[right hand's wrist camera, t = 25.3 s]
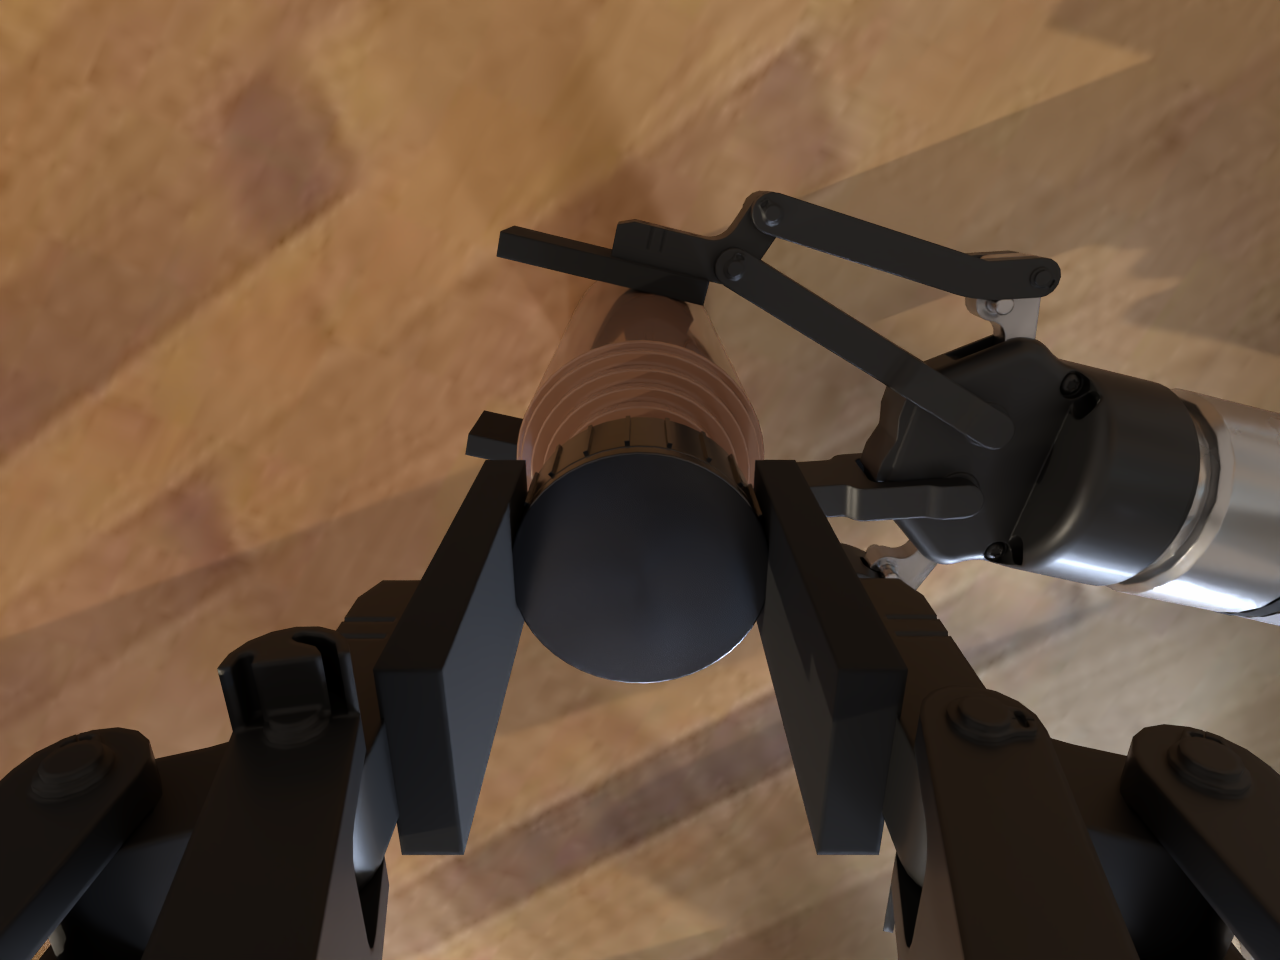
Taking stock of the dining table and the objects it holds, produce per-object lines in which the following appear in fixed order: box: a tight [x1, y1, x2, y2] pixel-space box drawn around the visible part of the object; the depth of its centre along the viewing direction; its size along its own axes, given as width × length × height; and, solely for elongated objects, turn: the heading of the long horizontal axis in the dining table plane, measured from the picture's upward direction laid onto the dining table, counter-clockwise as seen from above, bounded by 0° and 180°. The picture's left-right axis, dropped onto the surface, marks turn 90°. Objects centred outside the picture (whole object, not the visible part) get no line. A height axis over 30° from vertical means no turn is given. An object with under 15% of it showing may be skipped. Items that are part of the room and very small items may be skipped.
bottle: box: [517, 281, 764, 490], centre depth 23 cm, size 6×6×20 cm
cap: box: [512, 416, 769, 683], centre depth 14 cm, size 4×4×2 cm
